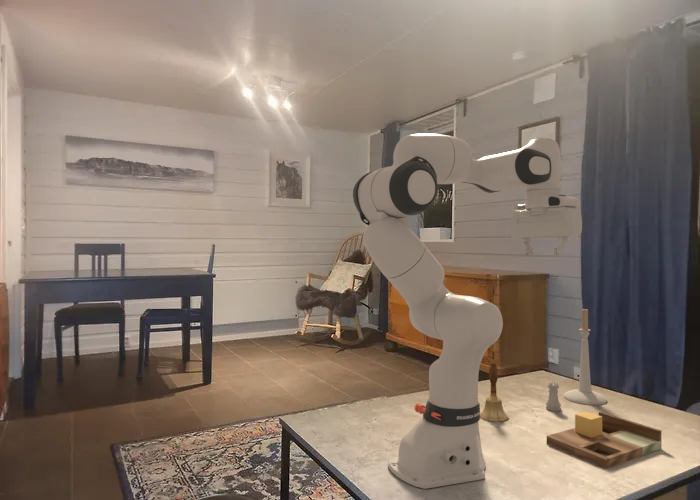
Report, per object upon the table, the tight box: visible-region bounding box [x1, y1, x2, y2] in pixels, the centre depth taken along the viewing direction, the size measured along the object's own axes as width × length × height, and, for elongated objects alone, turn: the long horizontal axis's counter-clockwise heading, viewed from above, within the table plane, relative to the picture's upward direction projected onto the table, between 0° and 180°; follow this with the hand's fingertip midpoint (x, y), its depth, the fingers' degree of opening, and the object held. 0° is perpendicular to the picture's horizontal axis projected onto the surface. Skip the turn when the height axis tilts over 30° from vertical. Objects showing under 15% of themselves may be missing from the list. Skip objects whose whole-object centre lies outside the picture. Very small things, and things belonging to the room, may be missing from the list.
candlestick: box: [563, 308, 608, 406], centre depth 160 cm, size 13×13×30 cm
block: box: [574, 411, 602, 437], centre depth 125 cm, size 4×4×4 cm
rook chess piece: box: [545, 381, 562, 412], centre depth 150 cm, size 4×4×8 cm
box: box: [546, 411, 663, 469], centre depth 121 cm, size 22×16×4 cm
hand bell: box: [480, 362, 510, 423], centre depth 143 cm, size 8×8×16 cm
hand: (543, 255), depth 127 cm, fingers open, 8 cm apart
